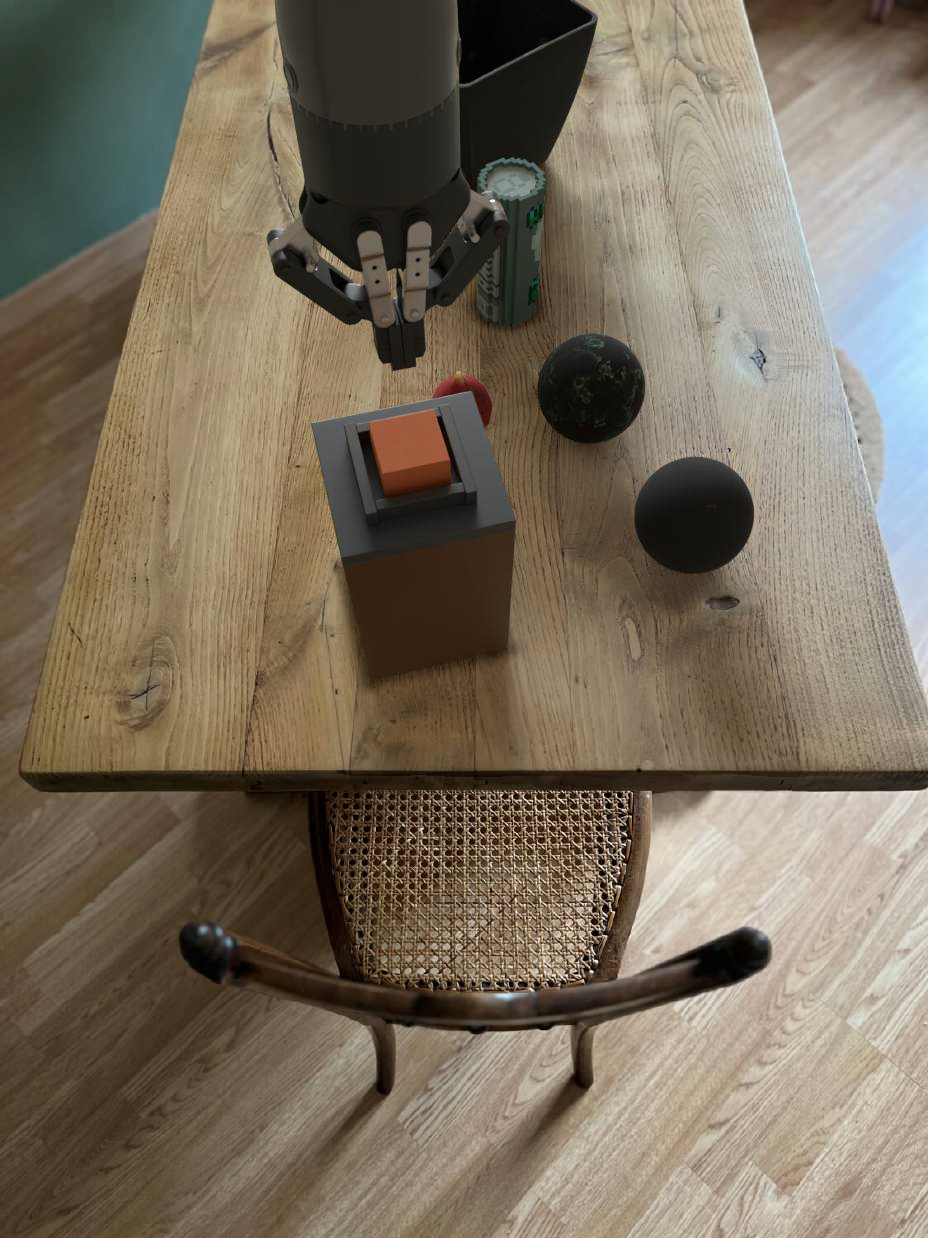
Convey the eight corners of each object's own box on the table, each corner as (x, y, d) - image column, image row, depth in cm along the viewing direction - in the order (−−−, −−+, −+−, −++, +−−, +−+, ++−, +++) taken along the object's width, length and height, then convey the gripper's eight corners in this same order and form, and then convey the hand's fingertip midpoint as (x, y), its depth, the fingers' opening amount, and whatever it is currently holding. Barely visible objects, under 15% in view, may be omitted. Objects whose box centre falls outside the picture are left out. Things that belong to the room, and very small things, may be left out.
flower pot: (463, 232, 104) (460, 85, 90) (365, 152, 112) (348, 3, 97) (586, 165, 110) (603, 15, 95) (486, 92, 117) (487, -56, 102)
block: (385, 501, 63) (381, 474, 60) (372, 450, 65) (368, 422, 62) (451, 487, 63) (450, 460, 60) (435, 437, 65) (433, 408, 63)
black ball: (753, 583, 81) (787, 518, 73) (645, 604, 80) (666, 540, 72) (715, 494, 86) (742, 422, 77) (612, 513, 85) (628, 443, 76)
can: (546, 311, 98) (557, 185, 85) (497, 333, 96) (501, 208, 83) (515, 278, 101) (521, 150, 87) (467, 298, 99) (466, 171, 86)
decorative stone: (574, 371, 94) (584, 293, 85) (656, 419, 91) (675, 343, 82) (513, 430, 90) (517, 355, 81) (596, 482, 87) (610, 410, 78)
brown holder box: (370, 681, 77) (338, 546, 59) (343, 564, 83) (307, 409, 65) (507, 649, 78) (517, 508, 61) (472, 536, 84) (472, 376, 66)
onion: (502, 426, 90) (504, 367, 83) (471, 466, 88) (471, 408, 81) (452, 402, 92) (451, 343, 85) (420, 441, 90) (416, 382, 83)
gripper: (497, -3, 42) (491, 296, 57) (209, 41, 41) (281, 336, 56) (543, 91, 39) (524, 383, 54) (231, 142, 37) (301, 428, 52)
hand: (400, 359), depth 55 cm, fingers closed
